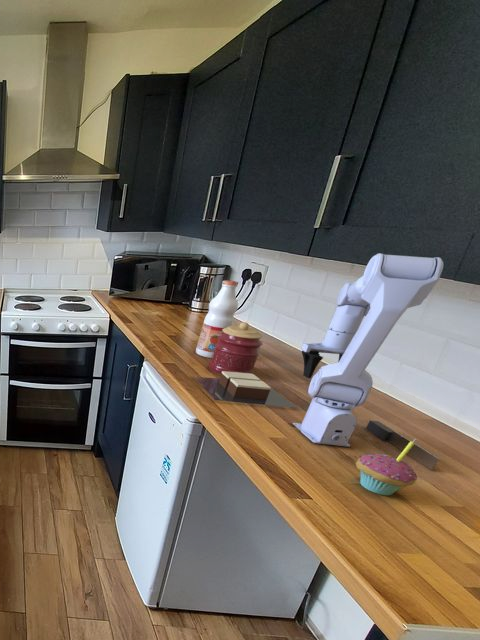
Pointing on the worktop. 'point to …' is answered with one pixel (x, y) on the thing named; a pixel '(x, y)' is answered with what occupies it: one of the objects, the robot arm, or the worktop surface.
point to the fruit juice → (217, 318)
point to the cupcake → (386, 472)
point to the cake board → (223, 395)
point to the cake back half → (235, 377)
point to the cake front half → (248, 389)
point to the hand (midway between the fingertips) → (321, 378)
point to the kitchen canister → (236, 350)
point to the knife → (402, 443)
